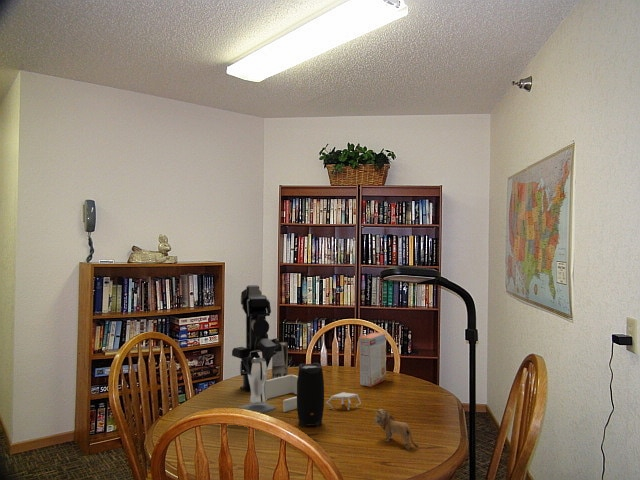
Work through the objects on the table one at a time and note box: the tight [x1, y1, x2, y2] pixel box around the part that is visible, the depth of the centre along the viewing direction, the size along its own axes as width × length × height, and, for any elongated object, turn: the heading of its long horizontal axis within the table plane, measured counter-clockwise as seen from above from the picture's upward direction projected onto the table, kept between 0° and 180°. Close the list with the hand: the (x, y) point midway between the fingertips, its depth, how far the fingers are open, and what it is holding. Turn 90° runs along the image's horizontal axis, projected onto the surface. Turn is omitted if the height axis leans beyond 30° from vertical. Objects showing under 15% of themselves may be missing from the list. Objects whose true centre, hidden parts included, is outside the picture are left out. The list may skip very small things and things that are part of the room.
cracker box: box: [358, 331, 387, 388], centre depth 208 cm, size 14×6×21 cm, turn 144°
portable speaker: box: [296, 362, 325, 428], centre depth 160 cm, size 9×9×20 cm
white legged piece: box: [325, 391, 362, 411], centre depth 175 cm, size 12×8×5 cm
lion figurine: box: [373, 408, 419, 450], centre depth 144 cm, size 15×5×9 cm, turn 52°
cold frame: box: [265, 373, 298, 413], centre depth 182 cm, size 17×17×7 cm
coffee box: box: [271, 341, 289, 379], centre depth 211 cm, size 9×6×16 cm
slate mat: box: [237, 402, 277, 414], centre depth 174 cm, size 10×10×1 cm
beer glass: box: [248, 357, 268, 404], centre depth 174 cm, size 7×7×15 cm
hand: (257, 373), depth 174 cm, fingers closed on beer glass, 6 cm apart
